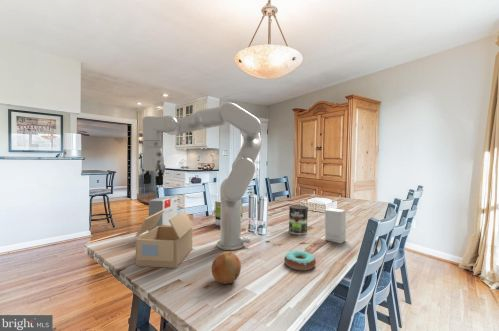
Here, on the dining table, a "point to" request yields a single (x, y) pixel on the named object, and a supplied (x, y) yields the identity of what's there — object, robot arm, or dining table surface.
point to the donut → (300, 260)
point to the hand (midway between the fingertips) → (153, 184)
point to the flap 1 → (149, 223)
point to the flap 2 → (181, 224)
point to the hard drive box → (167, 205)
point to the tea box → (218, 212)
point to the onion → (226, 267)
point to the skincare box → (335, 225)
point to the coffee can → (298, 219)
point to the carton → (162, 247)
